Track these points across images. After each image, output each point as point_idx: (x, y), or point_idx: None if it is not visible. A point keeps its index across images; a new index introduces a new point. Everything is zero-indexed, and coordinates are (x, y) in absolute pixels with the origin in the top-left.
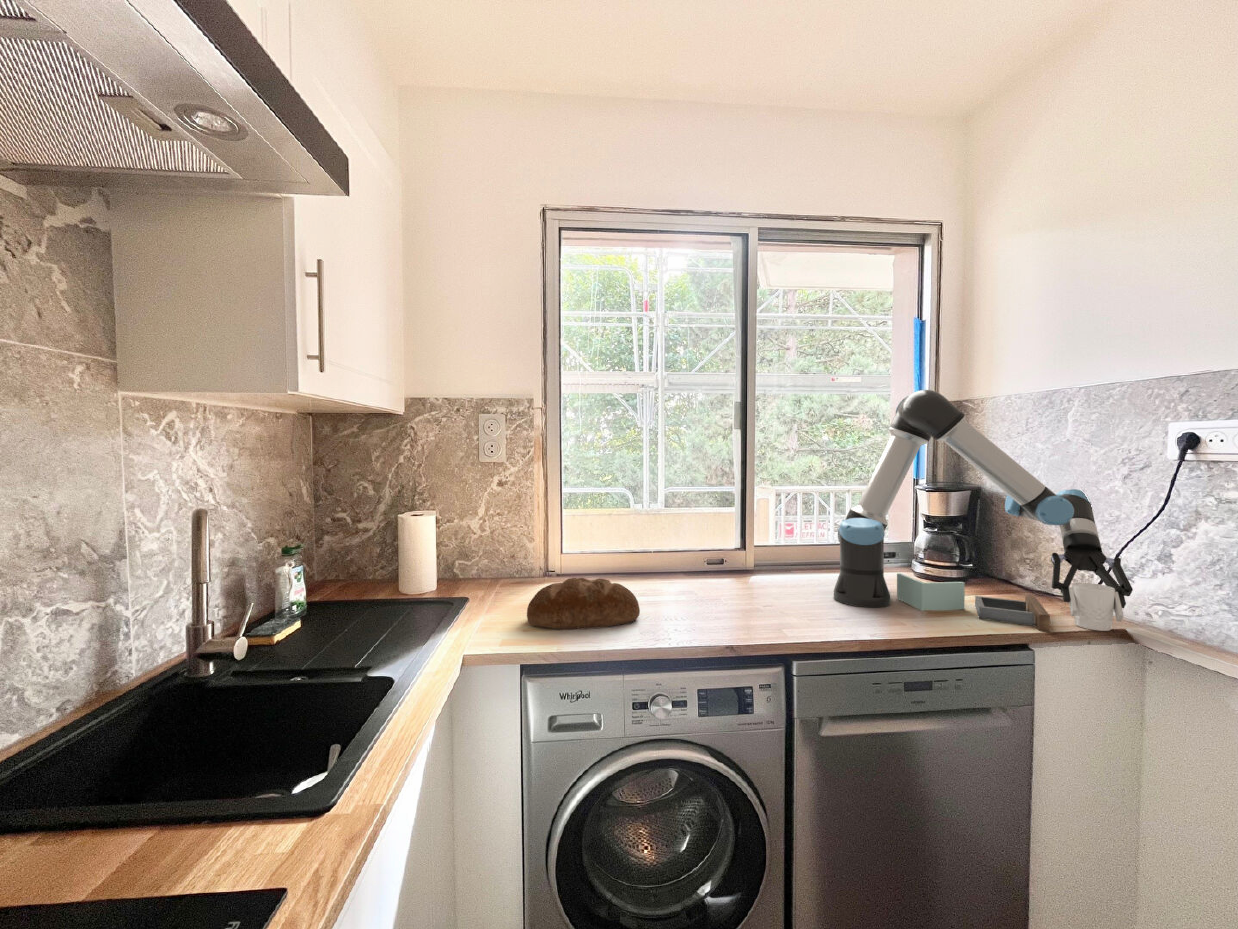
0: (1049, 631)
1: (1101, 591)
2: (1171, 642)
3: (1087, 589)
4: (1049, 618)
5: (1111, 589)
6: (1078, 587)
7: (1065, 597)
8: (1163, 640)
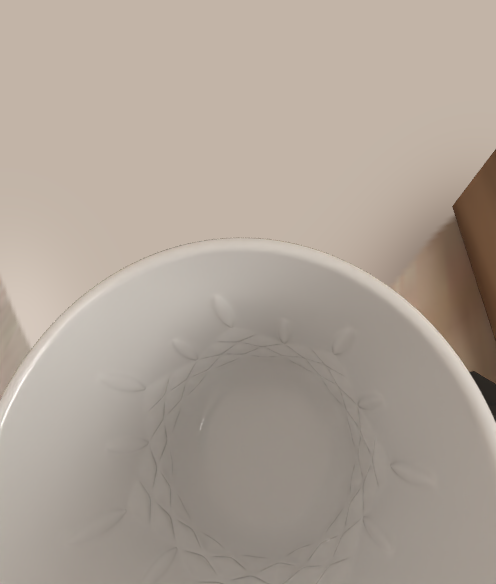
0: (454, 205)
1: (181, 249)
2: (3, 343)
3: (315, 253)
4: (489, 158)
5: (2, 545)
6: (415, 312)
7: (484, 386)
8: (21, 359)
